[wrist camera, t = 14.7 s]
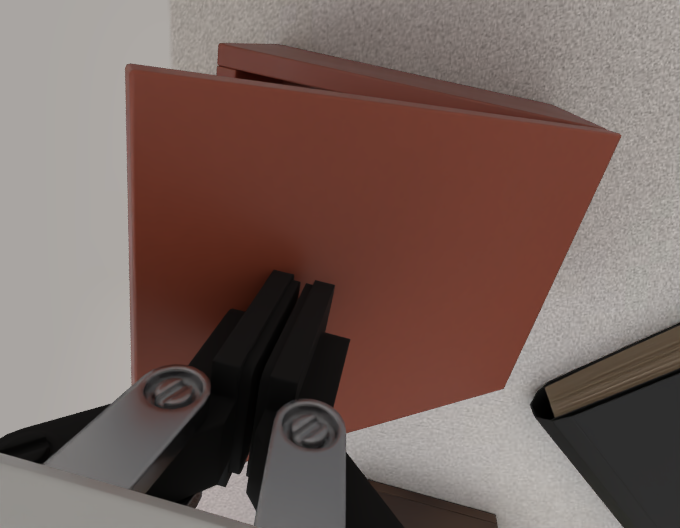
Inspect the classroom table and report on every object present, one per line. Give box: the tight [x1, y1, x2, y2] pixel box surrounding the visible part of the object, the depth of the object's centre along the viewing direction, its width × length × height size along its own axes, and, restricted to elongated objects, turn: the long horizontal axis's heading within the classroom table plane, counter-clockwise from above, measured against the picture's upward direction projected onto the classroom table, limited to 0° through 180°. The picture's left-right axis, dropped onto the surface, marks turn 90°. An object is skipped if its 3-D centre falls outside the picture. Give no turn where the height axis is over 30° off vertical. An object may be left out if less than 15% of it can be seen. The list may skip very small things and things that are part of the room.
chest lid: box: [125, 64, 621, 462], centre depth 15 cm, size 15×12×1 cm
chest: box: [217, 43, 606, 130], centre depth 23 cm, size 15×12×8 cm
